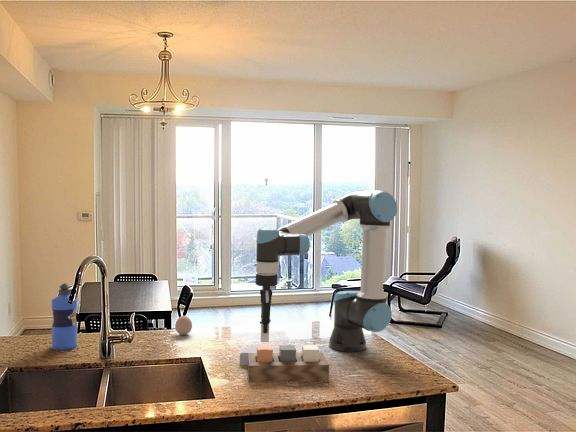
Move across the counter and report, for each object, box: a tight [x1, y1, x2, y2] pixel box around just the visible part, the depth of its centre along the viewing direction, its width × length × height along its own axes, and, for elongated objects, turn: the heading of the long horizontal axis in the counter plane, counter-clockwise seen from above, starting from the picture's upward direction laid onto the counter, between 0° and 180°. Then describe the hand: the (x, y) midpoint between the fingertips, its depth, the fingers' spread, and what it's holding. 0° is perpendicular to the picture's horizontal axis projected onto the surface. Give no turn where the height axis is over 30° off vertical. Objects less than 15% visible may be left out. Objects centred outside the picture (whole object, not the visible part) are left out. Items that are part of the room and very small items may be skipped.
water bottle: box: [51, 283, 79, 352], centre depth 202 cm, size 9×9×25 cm
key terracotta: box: [256, 344, 274, 362], centre depth 179 cm, size 5×5×6 cm
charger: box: [239, 345, 257, 366], centre depth 195 cm, size 5×9×15 cm
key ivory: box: [301, 344, 320, 362], centre depth 180 cm, size 5×5×6 cm
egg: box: [174, 315, 193, 336], centre depth 224 cm, size 7×7×8 cm
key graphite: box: [278, 344, 297, 362], centre depth 179 cm, size 5×5×6 cm
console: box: [247, 352, 330, 383], centre depth 180 cm, size 27×13×6 cm, turn 96°
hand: (264, 341), depth 178 cm, fingers closed
